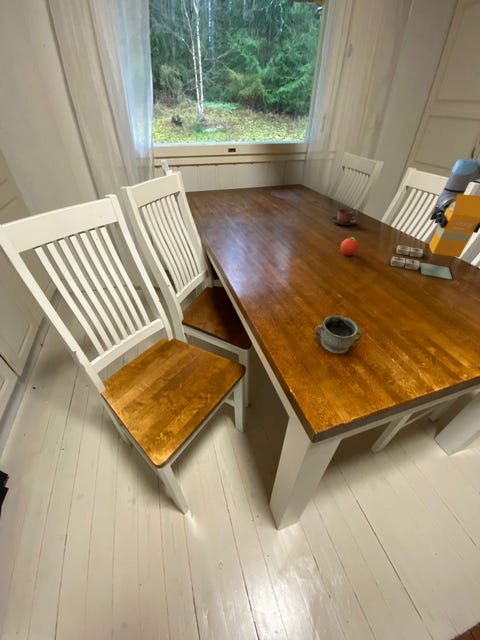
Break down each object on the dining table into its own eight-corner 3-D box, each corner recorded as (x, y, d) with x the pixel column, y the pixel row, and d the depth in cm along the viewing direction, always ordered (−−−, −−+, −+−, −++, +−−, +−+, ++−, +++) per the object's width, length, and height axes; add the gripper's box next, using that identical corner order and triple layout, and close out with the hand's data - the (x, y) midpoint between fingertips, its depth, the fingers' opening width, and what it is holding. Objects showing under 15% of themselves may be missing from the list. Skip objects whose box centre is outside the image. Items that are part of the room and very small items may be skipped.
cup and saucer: (352, 220, 150) (355, 208, 146) (356, 227, 141) (360, 215, 137) (330, 218, 151) (333, 207, 147) (332, 226, 142) (335, 214, 138)
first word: (420, 253, 118) (422, 248, 116) (421, 257, 115) (423, 253, 113) (396, 249, 121) (398, 244, 119) (396, 253, 118) (398, 248, 116)
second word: (448, 268, 108) (450, 263, 106) (451, 279, 100) (454, 274, 99) (391, 257, 114) (393, 253, 113) (390, 268, 107) (392, 263, 106)
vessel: (356, 336, 76) (363, 318, 72) (359, 359, 69) (367, 341, 65) (312, 329, 78) (316, 311, 74) (311, 350, 71) (316, 332, 67)
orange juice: (459, 257, 99) (492, 199, 87) (432, 253, 102) (460, 197, 89) (454, 248, 105) (483, 193, 93) (428, 245, 107) (454, 191, 95)
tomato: (341, 248, 121) (345, 232, 116) (357, 252, 118) (362, 236, 114) (337, 255, 115) (341, 239, 111) (354, 259, 113) (359, 242, 108)
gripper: (478, 222, 108) (492, 242, 92) (417, 213, 115) (420, 231, 99) (490, 202, 103) (506, 220, 87) (425, 194, 110) (429, 210, 94)
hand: (460, 226), depth 93 cm, fingers closed on orange juice, 9 cm apart
